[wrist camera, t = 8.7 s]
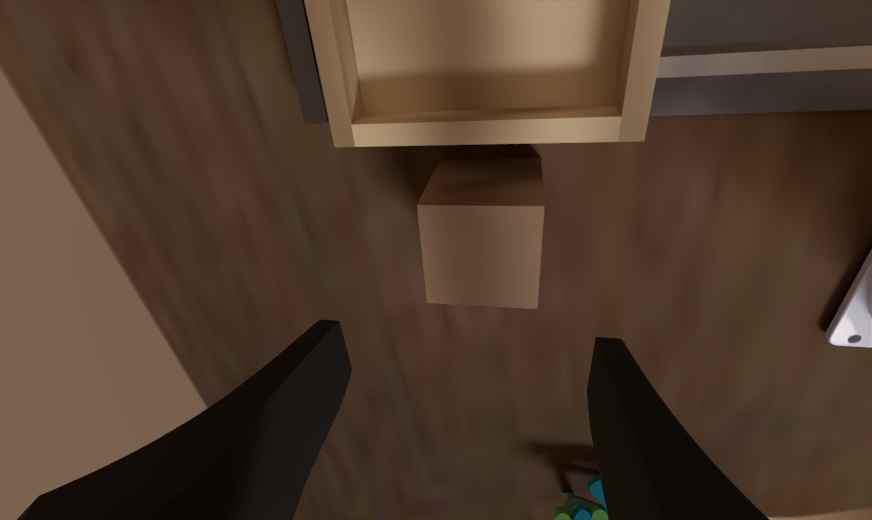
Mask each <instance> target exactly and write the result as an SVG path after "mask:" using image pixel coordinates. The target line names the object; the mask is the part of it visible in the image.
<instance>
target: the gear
mask: <svg viewBox="0 0 872 520" xmlns="http://www.w3.org/2000/svg"><path fill="white" fill-rule="evenodd" d="M587 487H588V489H589V491H590V492H591V494H592V495H593V496H594V497H595V498H597V499H598V500H599V501H600V502H601V503H602V505H600V504H598V503H595V502H592V501H590V500H587V499H585V498H582V497H579V496H576V495H574V494H573V493H571V492H567V493H566V494H565V502H564V507H561V506H558V507H556V508H555V509H554V510H553V518H554V520H608V514H607V509H606V504H605V499H604V494H603V489H602V484H601V479H600V476H597V477H595V478H593V479H591V480H590V481H588V482H587Z"/></svg>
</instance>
